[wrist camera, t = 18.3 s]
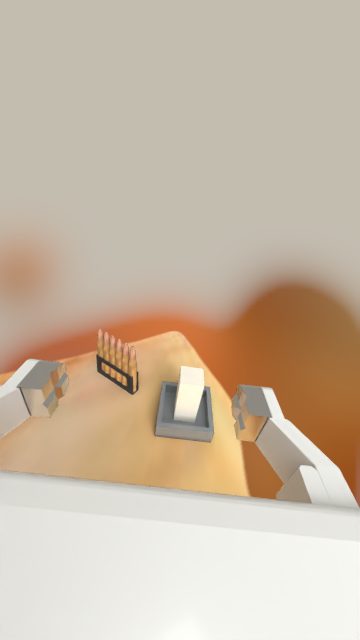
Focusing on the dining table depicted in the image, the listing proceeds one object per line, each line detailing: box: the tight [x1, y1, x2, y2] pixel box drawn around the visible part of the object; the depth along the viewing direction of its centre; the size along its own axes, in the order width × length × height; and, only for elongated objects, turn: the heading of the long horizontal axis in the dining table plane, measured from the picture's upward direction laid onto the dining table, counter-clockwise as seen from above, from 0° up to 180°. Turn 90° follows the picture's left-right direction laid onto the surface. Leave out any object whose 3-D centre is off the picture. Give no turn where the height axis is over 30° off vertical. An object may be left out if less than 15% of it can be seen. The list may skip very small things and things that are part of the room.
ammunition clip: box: [97, 328, 138, 394], centre depth 45 cm, size 11×2×12 cm, turn 57°
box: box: [155, 381, 214, 442], centre depth 42 cm, size 10×10×3 cm
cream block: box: [173, 366, 204, 423], centre depth 40 cm, size 4×4×10 cm
